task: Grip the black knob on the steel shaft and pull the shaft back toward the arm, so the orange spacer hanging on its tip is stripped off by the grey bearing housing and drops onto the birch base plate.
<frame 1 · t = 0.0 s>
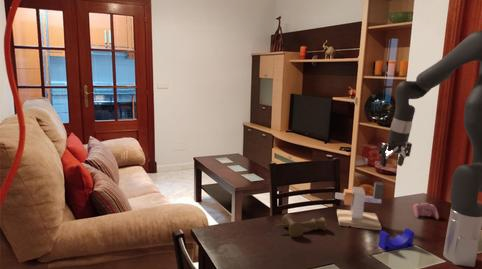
hand: (391, 165, 148), 22 cm above the table, tool pointing down, fingers open, 8 cm apart
video game controller: (424, 217, 153), on the table
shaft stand: (362, 221, 145), on the table
cable clip: (393, 246, 126), on the table
spacer: (347, 202, 145), point 7 cm above the table, touching shaft
shaft: (358, 191, 143), point 13 cm above the table, slide at 0.0 cm, touching spacer
kendama: (300, 231, 134), on the table
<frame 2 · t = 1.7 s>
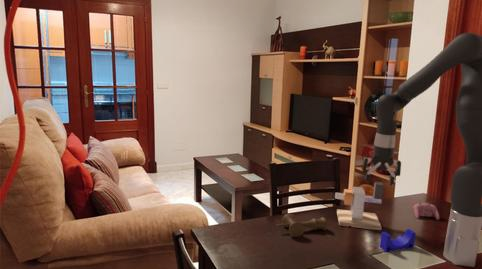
hand: (379, 183, 141), 17 cm above the table, tool pointing down, fingers open, 8 cm apart
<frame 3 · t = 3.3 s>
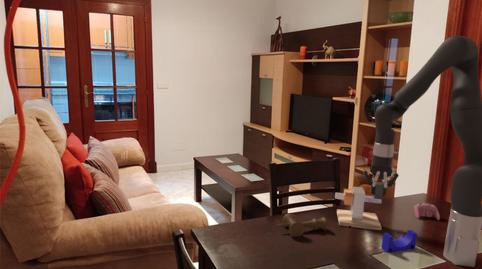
hand: (377, 194, 142), 12 cm above the table, tool pointing down, fingers closed on shaft, 3 cm apart
shaft: (358, 191, 143), point 13 cm above the table, slide at 0.0 cm, touching gripper, spacer
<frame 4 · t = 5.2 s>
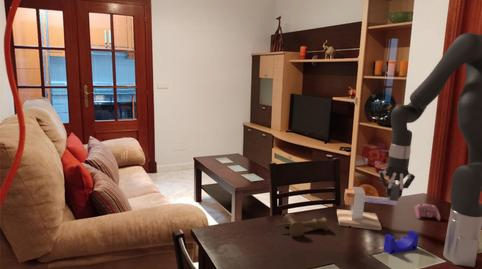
hand: (393, 196, 141), 12 cm above the table, tool pointing down, fingers closed on shaft, 3 cm apart
spacer: (348, 202, 144), point 8 cm above the table
shaft: (374, 192, 142), point 13 cm above the table, slide at 6.0 cm, touching gripper
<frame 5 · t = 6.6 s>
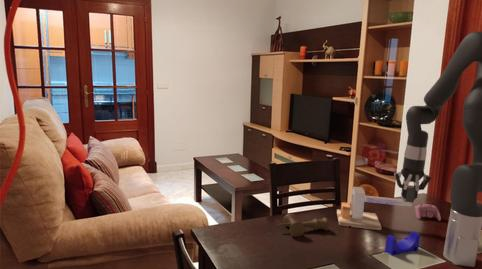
hand: (408, 198, 140), 12 cm above the table, tool pointing down, fingers closed on shaft, 3 cm apart
spacer: (344, 215, 146), point 1 cm above the table, touching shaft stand
shaft: (389, 194, 141), point 13 cm above the table, slide at 11.9 cm, touching gripper
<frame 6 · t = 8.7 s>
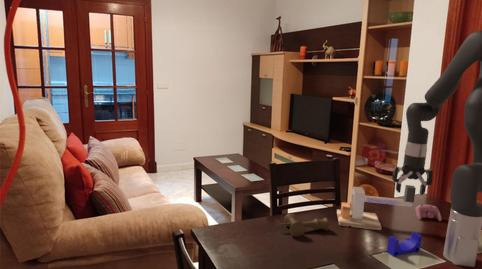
hand: (409, 193, 139), 14 cm above the table, tool pointing down, fingers open, 8 cm apart
shaft: (389, 194, 141), point 13 cm above the table, slide at 11.9 cm
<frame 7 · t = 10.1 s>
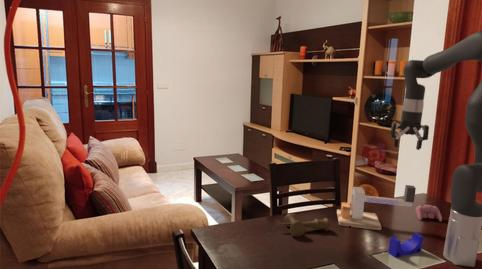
hand: (406, 148, 146), 30 cm above the table, tool pointing down, fingers open, 8 cm apart
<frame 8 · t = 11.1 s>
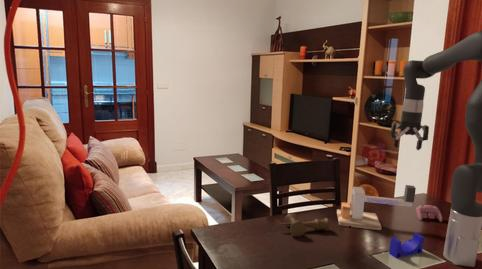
hand: (406, 148, 146), 30 cm above the table, tool pointing down, fingers open, 8 cm apart
at the end: shaft slide at 11.9 cm; spacer point 1.5 cm above the table; spacer touching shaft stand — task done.
